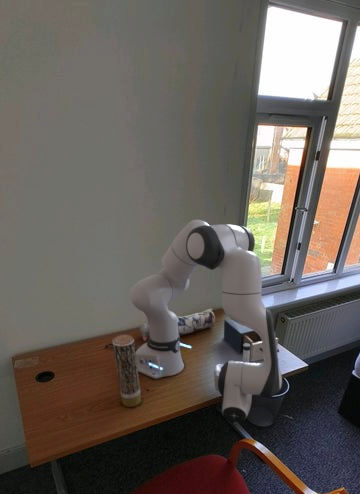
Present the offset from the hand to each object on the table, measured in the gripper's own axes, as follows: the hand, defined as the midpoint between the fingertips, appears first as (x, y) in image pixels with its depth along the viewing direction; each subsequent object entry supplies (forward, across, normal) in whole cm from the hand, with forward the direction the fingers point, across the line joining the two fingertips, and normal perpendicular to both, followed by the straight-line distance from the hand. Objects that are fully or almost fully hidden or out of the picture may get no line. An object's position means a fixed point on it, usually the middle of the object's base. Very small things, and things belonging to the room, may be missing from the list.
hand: (244, 363), depth 131 cm
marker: (+3, 0, +7) cm, 8 cm away
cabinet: (+29, +3, +7) cm, 30 cm away
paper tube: (-21, +37, +8) cm, 43 cm away
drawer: (+19, -4, +6) cm, 20 cm away
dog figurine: (+26, +45, +8) cm, 52 cm away
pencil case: (+36, +28, +8) cm, 47 cm away
